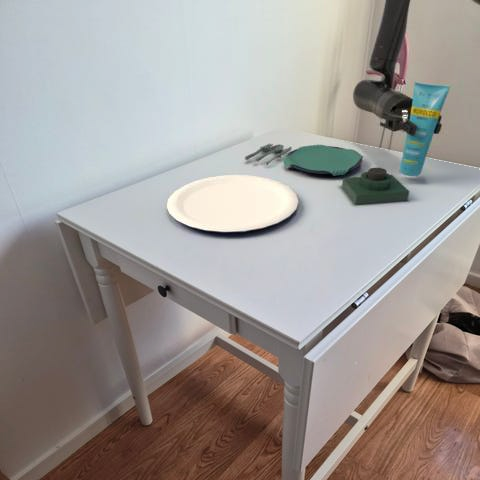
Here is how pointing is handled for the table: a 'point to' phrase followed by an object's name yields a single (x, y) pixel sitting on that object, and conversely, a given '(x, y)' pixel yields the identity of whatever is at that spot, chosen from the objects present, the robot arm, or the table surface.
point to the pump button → (376, 174)
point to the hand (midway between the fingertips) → (426, 130)
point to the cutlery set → (315, 158)
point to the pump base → (374, 189)
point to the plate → (232, 203)
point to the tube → (422, 125)
